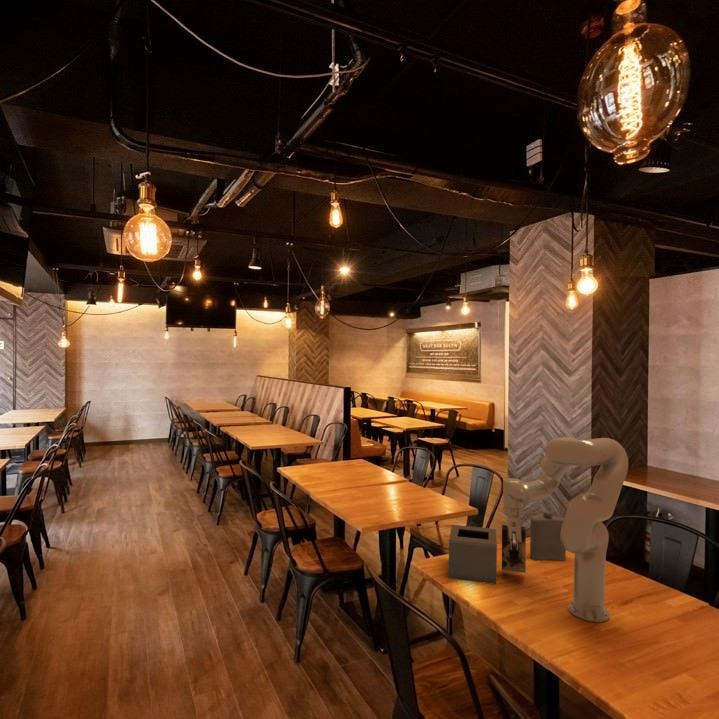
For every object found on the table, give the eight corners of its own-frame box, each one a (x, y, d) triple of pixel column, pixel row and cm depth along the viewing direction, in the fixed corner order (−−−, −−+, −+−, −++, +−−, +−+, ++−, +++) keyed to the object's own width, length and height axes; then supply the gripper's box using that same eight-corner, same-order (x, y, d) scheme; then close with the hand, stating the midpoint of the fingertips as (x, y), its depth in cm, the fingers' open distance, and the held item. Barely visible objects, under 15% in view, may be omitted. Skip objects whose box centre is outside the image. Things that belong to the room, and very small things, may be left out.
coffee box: (501, 570, 190) (501, 528, 190) (501, 564, 196) (501, 524, 197) (526, 573, 187) (525, 530, 188) (525, 566, 194) (525, 526, 194)
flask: (561, 555, 214) (562, 510, 214) (567, 561, 208) (568, 514, 208) (527, 555, 214) (528, 509, 214) (532, 560, 208) (533, 514, 208)
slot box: (496, 584, 185) (496, 544, 185) (448, 578, 190) (449, 539, 190) (495, 564, 203) (495, 529, 203) (451, 559, 207) (452, 524, 207)
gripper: (524, 517, 183) (525, 565, 183) (521, 505, 200) (522, 549, 199) (504, 516, 185) (504, 563, 184) (502, 504, 202) (503, 547, 201)
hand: (513, 555), depth 192 cm, fingers closed on coffee box, 6 cm apart
